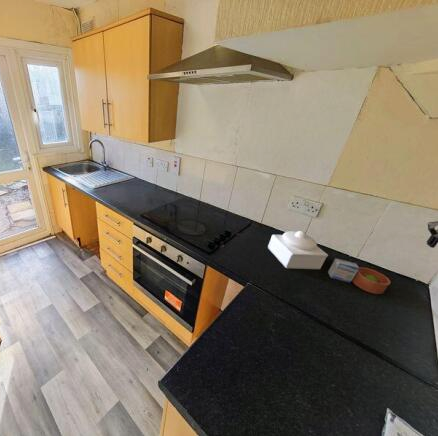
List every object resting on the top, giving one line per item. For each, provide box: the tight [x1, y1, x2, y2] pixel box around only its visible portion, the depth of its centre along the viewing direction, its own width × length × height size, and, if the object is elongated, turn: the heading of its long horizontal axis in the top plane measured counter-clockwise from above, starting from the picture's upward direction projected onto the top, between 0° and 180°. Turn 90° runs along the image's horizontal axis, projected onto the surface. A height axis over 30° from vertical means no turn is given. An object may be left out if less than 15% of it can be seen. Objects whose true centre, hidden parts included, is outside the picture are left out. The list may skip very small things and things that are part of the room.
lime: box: [364, 275, 378, 283], centre depth 100 cm, size 5×5×5 cm
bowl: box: [351, 266, 391, 295], centre depth 100 cm, size 11×11×6 cm
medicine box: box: [327, 257, 360, 283], centre depth 103 cm, size 8×4×9 cm, turn 68°
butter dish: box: [267, 230, 329, 270], centre depth 114 cm, size 18×18×16 cm
